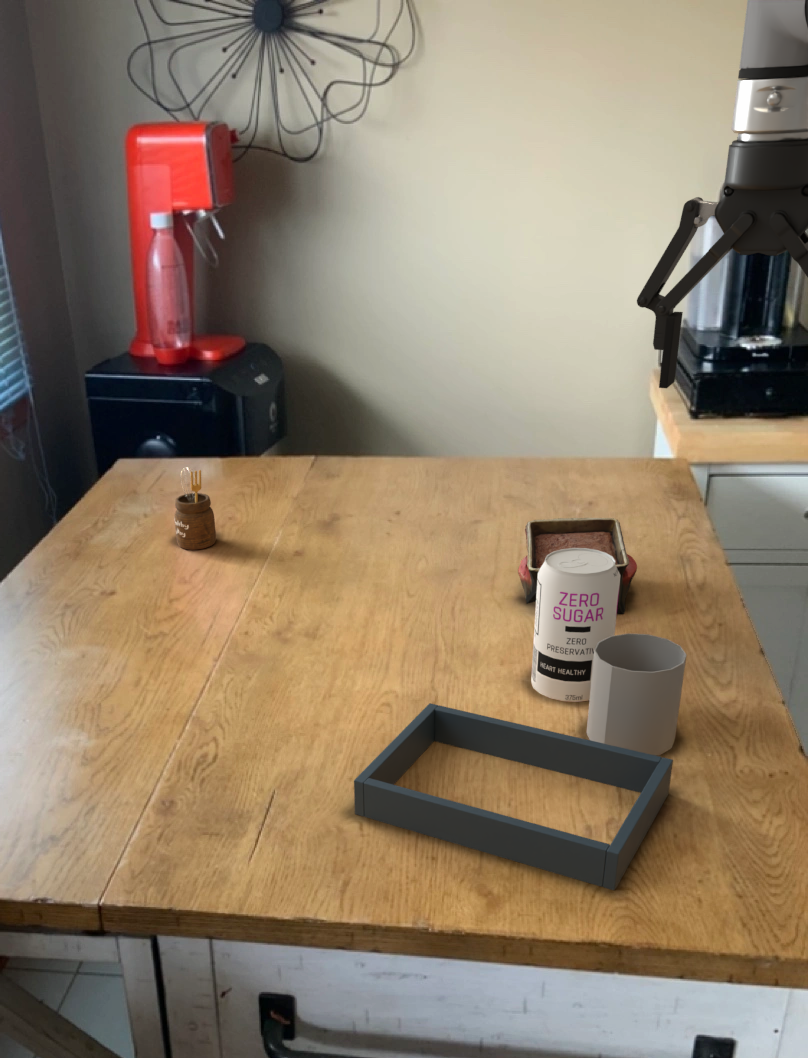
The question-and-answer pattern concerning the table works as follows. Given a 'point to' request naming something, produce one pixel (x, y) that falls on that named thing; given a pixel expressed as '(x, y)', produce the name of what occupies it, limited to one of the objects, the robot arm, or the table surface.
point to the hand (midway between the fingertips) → (740, 390)
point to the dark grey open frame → (504, 832)
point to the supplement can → (572, 620)
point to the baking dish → (574, 535)
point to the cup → (636, 692)
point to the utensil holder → (194, 518)
